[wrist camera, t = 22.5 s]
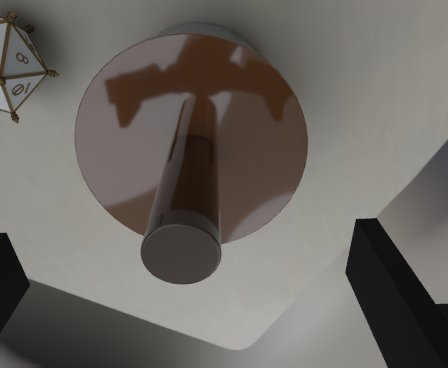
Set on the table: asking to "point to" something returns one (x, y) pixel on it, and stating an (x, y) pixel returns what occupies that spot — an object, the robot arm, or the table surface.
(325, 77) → the table surface
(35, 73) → the game die
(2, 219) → the table surface
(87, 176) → the lid
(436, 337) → the robot arm
